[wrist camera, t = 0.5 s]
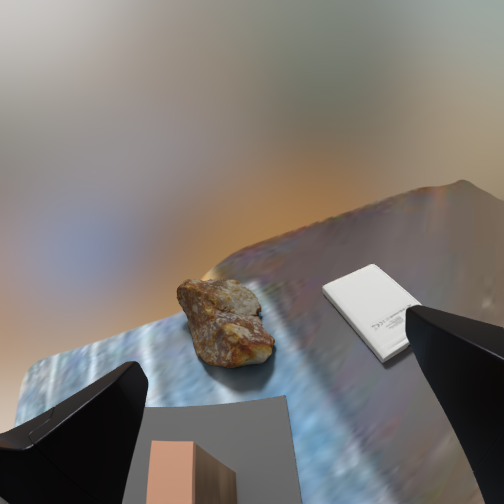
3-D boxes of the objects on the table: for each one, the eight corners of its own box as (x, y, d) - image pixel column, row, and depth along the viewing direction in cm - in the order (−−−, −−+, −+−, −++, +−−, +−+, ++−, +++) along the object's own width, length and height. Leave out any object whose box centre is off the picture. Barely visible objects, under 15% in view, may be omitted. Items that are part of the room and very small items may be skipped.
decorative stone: (225, 252, 36) (303, 324, 25) (230, 277, 39) (302, 348, 28) (158, 285, 32) (216, 379, 22) (169, 309, 35) (226, 398, 24)
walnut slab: (239, 535, 11) (192, 541, 6) (206, 534, 11) (144, 533, 7) (235, 472, 16) (193, 441, 12) (205, 473, 16) (151, 440, 12)
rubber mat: (314, 595, 5) (314, 597, 5) (46, 542, 7) (43, 541, 6) (285, 397, 22) (285, 395, 22) (71, 403, 24) (69, 401, 23)
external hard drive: (373, 272, 35) (436, 328, 24) (322, 295, 33) (381, 366, 23) (374, 262, 34) (440, 318, 23) (321, 285, 32) (383, 357, 22)
